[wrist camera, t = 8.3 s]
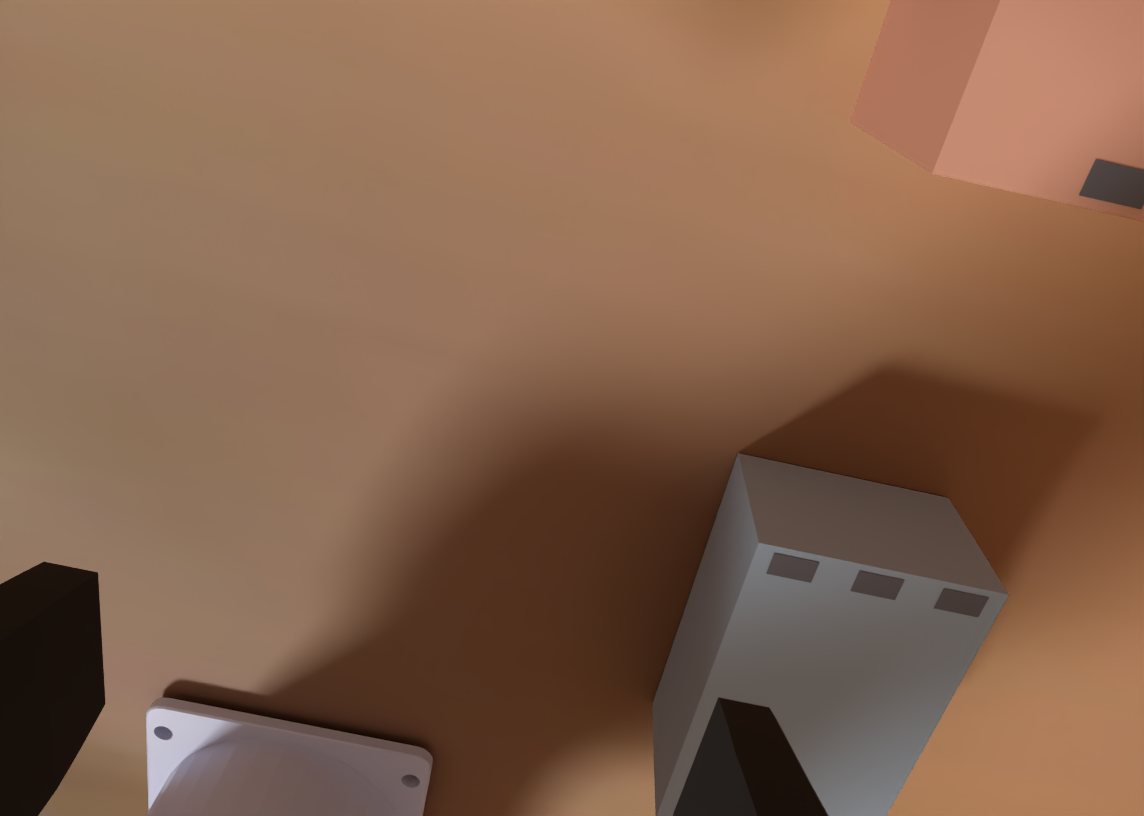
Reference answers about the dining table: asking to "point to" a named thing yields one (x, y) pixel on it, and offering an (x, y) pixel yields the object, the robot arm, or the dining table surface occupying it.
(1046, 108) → the stub
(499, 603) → the dining table surface
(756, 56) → the dining table surface
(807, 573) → the slotted gray housing
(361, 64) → the dining table surface
